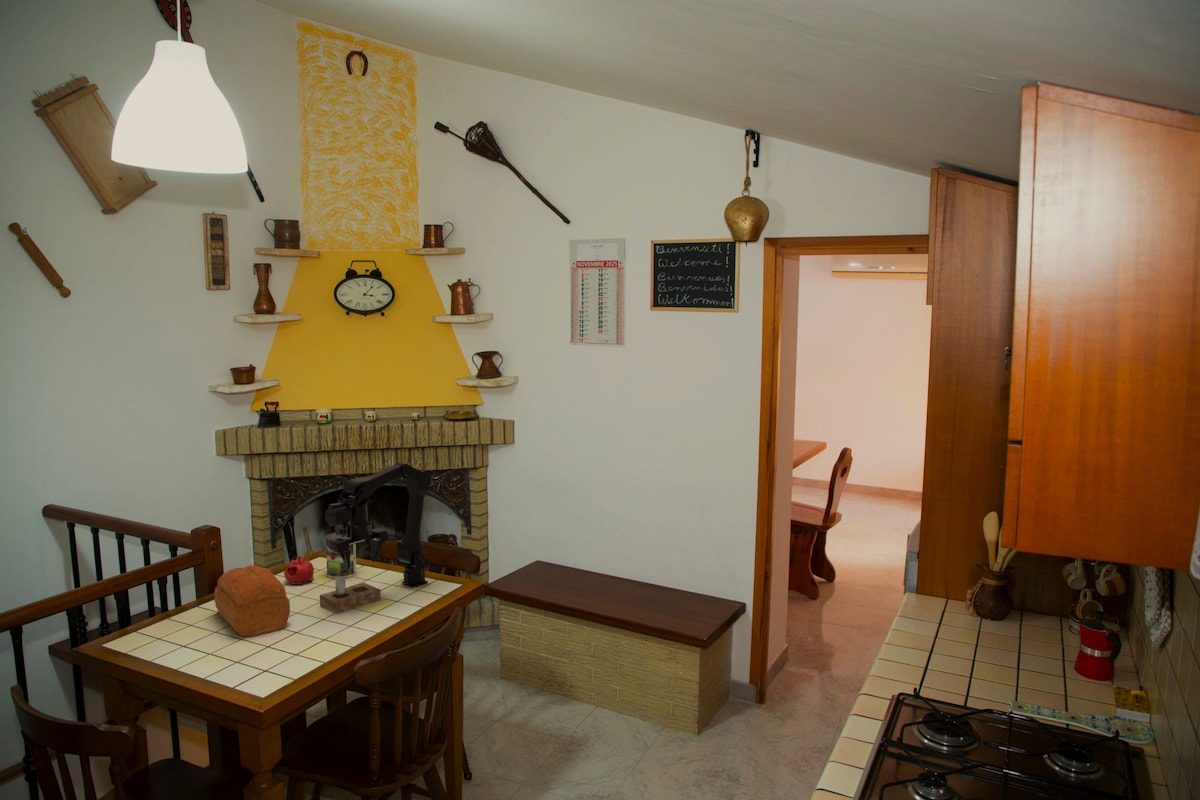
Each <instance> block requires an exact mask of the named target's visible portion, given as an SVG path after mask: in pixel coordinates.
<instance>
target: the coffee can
mask: <svg viewBox="0 0 1200 800" xmlns="http://www.w3.org/2000/svg"><path fill="white" fill-rule="evenodd" d="M338 538H342V539H344V540H348V539H350V538H347V537H346V536H345V537H341V535H338V536H337V535H336V533H335V532H332V533H329V534H327V535H325V547H326V548H325V550H326V551H325V552H326V576H327V577H328V578H330V579H336V578H338V577H344V578H345V579H347V578H350V577H353V576H355V575H356V574H357V546H356V545H357V543H356V544H353V545H349V549H348V550H350V569H347V568H346V566H345V564H344V562H343V559H342V557H341V556H340V554H339V553H338V552H335V551H333V550H330V549H329V543H330V541H331V540H335V539H338Z"/></svg>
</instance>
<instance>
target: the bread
mask: <svg viewBox="0 0 1200 800" xmlns="http://www.w3.org/2000/svg"><path fill="white" fill-rule="evenodd" d="M285 587H286V586H284V584H283V583H282V582H281V581H280V580H279V579H278V577H276V575H275V574H273V572H272V571H271V570H270V569H268V568H265V567H262V566H259V565H255V564H254V565H252V564H251V565H246V566H244V567H234V568H231V569H229V570H227V571H226V572H224V573H223V574H222V575H221V576H220V577H219V578H218V580H217V586H215V588H214V604H215V608H216V610H217V612H218V614H219V616H221V617H222V619H224V620H225V621H226V622H227V623H228V625H230V626H231V627H232V629H233V630H234V631H235V632H236V633H237V634H238V635H240V636H242V637H246V638H247V637H254V636H259V635H263V634H267V633H271V632H275V631H276V632H277V631H279V630H283V628H286V627H287V624H288V620H289V618H290V615H291V610H290V609H291V608H290V607H291V606H290V605H291V604H290V599H289V597H288V596H287V592H286V588H285Z"/></svg>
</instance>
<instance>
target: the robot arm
mask: <svg viewBox="0 0 1200 800" xmlns="http://www.w3.org/2000/svg"><path fill="white" fill-rule="evenodd" d="M400 478H402V479H404V480H405V487H406V491H407V492H408V495H409V496H408V503H407V504H408V505H407V513H406V521H405V530H404V537H403V539H401V541H397V544H396V546H397V547H396V552H395V554H396V555H397V556H396V559H398V560H399V562H400V564H401V566H404V568H403V569H404V571H403V581H401V582H402V584H403V585H405V586H409V587H411V588H415V587H418V586H421V585H422V586H423V585H424V584H427V583H428V582H429V581H428V580H426V568H428V567H429V563H430V560H429V559H428V558H427V557H425V556H424V554H423V545H422V542H421V540H420V533H421V525H422V519H423V518H422V516H423V509H424V501H425V500H424V499H425V496H426V495H427V493H428V492H429V490H430V488H431V484H432V475H431V474H430V473H429V472H428V471H425V470H420V469H417V468H415V467H413V466H412V465H410V464H408V463H406V462H400V461H399V462H396V463H394V464H393V465H390V466H387V467H386V468H384V469H382V470H379V471H378V472H374V473H373V474H369V476H363V477H362V476H361V477H356V478H351V479H349V480H347V481H346V482H345V485H344V488H343V490H342V492H341V494H340V495H339V498H338V499H337V503H330V504H328V508H327V509H326V511H325V513H324V517H325V521H326V523H327V525H328V526H329V527H334V533H336V535H337V536H338V535H341V537H345V536H346V537H347V538H350V539H348V540H344V539H342V538H338V539H335V540H331V541H330V543H329V549H330V550H333V551H335V552H338V553H339V554H340V556H341V557H342V559H343V562H344V564H345V566H346V568H347V569H350V550H348V549H349V545H353V544H356V545H357V544H359V543H364V542H366V541H369V543H370V544H369V545H370V559H371V562H373V563H375V561H376V559H377V557H378V555H379V552H380V550H381V548H382V547H383V545H384V543H386V540H389V539H390V534H389V532H388V530H387V529H383V528H381V527H377V528H372V529H369V526H370V525H371V521H370V520H369V519H368V504H372V503H373V500H372V499H370V497H369V496H371V495H372V494H373V493H374V491H376V489H378V488H380V487H382V486H384V485H387V484H389V483H390V482H393V481H395V480H398V479H400ZM368 520H369V521H368ZM343 524H346V526H344V525H343Z"/></svg>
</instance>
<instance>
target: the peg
mask: <svg viewBox="0 0 1200 800" xmlns="http://www.w3.org/2000/svg"><path fill="white" fill-rule="evenodd" d="M334 581H335V582H334V583H335V585H334V586H335V591H336V598H337V599H339V598H343V597H346V591H345V588H346V578H344V577H338V578H334Z"/></svg>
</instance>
